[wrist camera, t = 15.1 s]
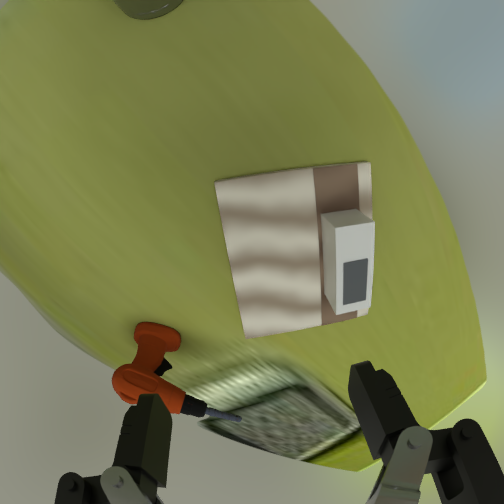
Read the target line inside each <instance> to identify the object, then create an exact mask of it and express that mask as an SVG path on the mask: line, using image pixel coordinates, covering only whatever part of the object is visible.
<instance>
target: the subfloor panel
mask: <svg viewBox="0 0 504 504" xmlns="http://www.w3.org/2000/svg"><path fill="white" fill-rule="evenodd" d="M214 183H215V189H216V194H217V200H218V205H219V210H220V215H221V221H222V226H223V231H224V236H225V241H226V246H227V251H228V256H229V261H230V266H231V271H232V276H233V281H234V286H235V290H236V295H237V300H238V305H239V310H240V314H241V319H242V324H243V328H244V333H245V337H246V339H249V338H255V337H261V336H267V335H273V334H278V333H284V332H289V331H295V330H300V329H305V328H310V327H315V326H319V325H327V324H331V323H336V322H340V321H345V320H349V319H353V318H357V317H359V316H363V315H367V314H368V308H364V309H360V310H356V311H352V312H348V313H343V314H339V315H336V314H335V312H334V310H333V308H332V306H331V305H330V303H329V301H328V299H327V297H326V295H325V294H324V265H323V243H322V226H321V214H323V213H330V212H337V211H344V210H352V209H357V210H358V211H360V212H361V213H363V214H364V215H366V216H367V217H369V218H370V219H371V220H372V184H371V164H370V162H367V161H366V162H354V163H342V164H332V165H322V166H313V167H304V168H296V169H288V170H281V171H274V172H267V173H260V174H253V175H247V176H241V177H235V178H229V179H223V180H217V181H215V182H214Z"/></svg>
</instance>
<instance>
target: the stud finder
mask: <svg viewBox="0 0 504 504" xmlns="http://www.w3.org/2000/svg"><path fill="white" fill-rule="evenodd" d="M321 226H322V243H323V265H324V294H325V295H326V297H327V299H328V301H329V303H330V305H331V306H332V308H333V310H334V312H335V314H336V315H339V314H343V313H348V312H352V311H356V310H360V309H364V308H369V307H370V306H371V295H372V282H373V265H374V236H375V222H374V221H373V220H371V219H370V218H369V217H367V216H366V215H364V214H363V213H361V212H360V211H358V210H357V209H352V210H344V211H337V212H330V213H323V214H321Z"/></svg>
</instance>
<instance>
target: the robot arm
mask: <svg viewBox="0 0 504 504" xmlns="http://www.w3.org/2000/svg"><path fill="white" fill-rule="evenodd" d="M113 1H114V2H115V3H116V4H117V5H118V6H119V8H120V9H121V10H122V11H123V12H124V13H125V14H127V15H128V16H130V17H132V18H135V19H151V18H156V17H159V16H162V15H164V14H166V13H168V12H170V11H171V10H173V9H174V8H176V7H177V6H178V5H179V4H180V3H181V2H182V1H183V0H113ZM348 393H349V397H350V400H351V403H352V405H353V408H354V410H355V413H356V416H357V418H358V421H359V423H360V426H361V428H362V431H363V434H364V436H365V439H366V441H367V444H368V447H369V449H370V452H371V455H372V457H373V460H375V459H378V458H382V461H383V466H382V469H381V471H380V474H379V476H378V479H377V481H376V483H375V485H374V487H373V490H372V492H371V494H370V496H369V498H368V500H367V502H366V504H418V502H419V499H420V491H419V488H420V485H421V482H422V478H423V475H424V474H428V473H431V474H432V477H433V479H434V482H435V485H436V488H437V491H438V494H439V497H440V499H441V503H442V504H504V474H503V472H502V470H501V468H500V465H499V463H498V461H497V459H496V457H495V455H494V453H493V451H492V449H491V447H490V445H489V443H488V441H487V439H486V437H485V435H484V433H483V431H482V429H481V427H480V425H479V424H478V423H477V422H476V421H474V420H472V419H462V420H460V421H458V422H457V423H456V424H455V425H454V427H453V428H447V429H441V430H428V429H426V428H424V427H421V426H420V425H419V424H418V423H417V421H416V420H415V418H414V416H413V414H412V412H411V410H410V408H409V407H408V405H407V403H406V401H405V399H404V397H403V395H401V392H400V390H399V388H397V385H396V383H395V381H394V379H393V377H392V376H391V375H390V374H388V373H387V372H386V371H385V370H383V369H381V370H377V371H375V369H374V367H373V366H372V364H371V362H370V361H364V362H361V363H357V364H354V365H351V368H350V376H349V384H348ZM122 425H123V426H122V428H121V435H120V436H119V440H118V444H117V449H116V453H115V458H114V462H113V465H112V467H110V468H108V469H106V470H105V471H104V472H103V474H102V475H99V476H93V477H84V478H82V477H81V476H80V475H78V474H76V473H73V472H69V473H66V474H64V475H63V476H62V477H61V478H60V480H59V483H58V488H57V493H56V498H55V504H164V503H163V502H162V500H161V499H160V498H159V496H158V495H157V487H165V488H166V481H167V468H168V459H169V449H170V441H171V432H172V417H171V414H170V412H169V410H168V409H167V407H166V405H165V404H164V402H163V400H162V399H161V397H160V395H159V394H157V393H152V394H140V395H139V398H138V402H137V406H131V407H130V408H129V410H128V411H127V412H126V414H125V416H124V420H123V424H122Z"/></svg>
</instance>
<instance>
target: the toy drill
mask: <svg viewBox="0 0 504 504" xmlns="http://www.w3.org/2000/svg"><path fill="white" fill-rule="evenodd" d="M134 339H135V341H136V343H137V344H138V350H137V354H136V357H135V358H134V360H133V362H132V364H124V365H122V366H120V367H119V368H118V369H117V370H116V371H115V372H114V374H113V377H112V385H113V388H114V390H115V391H116V393H117V394H118V395H119V396H120V397H121V399H122V400H123V401H125V402H127V403H129V404H137V402H138V398H139V395H140V394H152V393H157V394H159V395H160V397H161V399H162V400H163V402H164V404H165V405H166V407H167V409H168V410H169V412H170V413H176V414H180V413H183V414H186V415H193V416H196V417H203V416H204V415H205V414H208V415H210V416H214V417H215V416H216V417H218V418H224V419H227V420H231V421H236V422H240V421H241V420H242V418H241V416H238V415H236V416H235V415H234V414H230V413H226V412H221V411H219V410H216V409H214V408H211V407H210V408H208V407H207V404H206V403H205V402H204V401H202V400H199V399H196V398H194V397H192V396H189V395H186V392H185V391H182V390H181V389H180V388H178V387H176V386H174V385H173V384H171V383H169V382H167V381H166V380H164V379H162V378H161V377H159V376H162V375H163V374H164V372H165V371H167V370H169V369H172V366H171V364H170V363H169V362H168V361H167V360H166V359H165V358H164V354H165V352H173V351H176V350H178V348H179V346H180V343H181V338H180V335H179V333H178V332H177V331H176V330H174V329H172V328H170V327H167V326H164V325H161V324H156V323H151V322H142V323H139V324H138V325H137V326H136V328H135V332H134Z"/></svg>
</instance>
